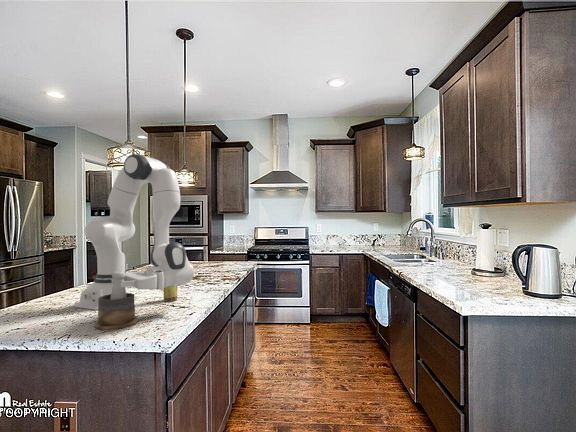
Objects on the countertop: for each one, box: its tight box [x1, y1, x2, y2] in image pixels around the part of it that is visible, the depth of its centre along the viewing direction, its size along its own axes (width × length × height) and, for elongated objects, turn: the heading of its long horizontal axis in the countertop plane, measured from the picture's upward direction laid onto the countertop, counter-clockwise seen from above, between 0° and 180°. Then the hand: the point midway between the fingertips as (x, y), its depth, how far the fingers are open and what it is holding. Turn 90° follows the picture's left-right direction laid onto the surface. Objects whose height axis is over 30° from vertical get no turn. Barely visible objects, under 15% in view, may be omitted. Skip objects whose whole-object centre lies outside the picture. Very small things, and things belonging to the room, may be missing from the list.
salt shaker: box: [110, 271, 127, 300], centre depth 121 cm, size 6×6×13 cm
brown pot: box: [94, 292, 139, 331], centre depth 121 cm, size 14×14×10 cm
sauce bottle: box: [162, 286, 178, 302], centre depth 156 cm, size 7×6×20 cm
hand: (116, 282), depth 121 cm, fingers open, 8 cm apart
